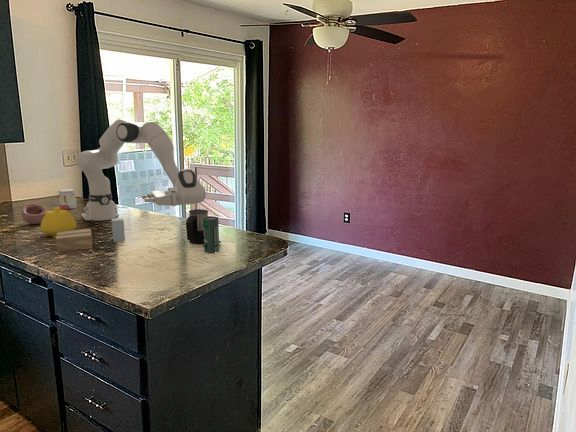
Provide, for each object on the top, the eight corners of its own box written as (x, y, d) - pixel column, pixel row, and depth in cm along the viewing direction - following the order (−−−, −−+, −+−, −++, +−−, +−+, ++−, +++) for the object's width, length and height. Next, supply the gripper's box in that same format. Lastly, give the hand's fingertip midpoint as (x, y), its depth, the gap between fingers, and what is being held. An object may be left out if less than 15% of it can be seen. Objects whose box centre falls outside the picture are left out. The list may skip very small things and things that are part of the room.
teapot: (32, 233, 216) (28, 206, 213) (64, 227, 228) (61, 202, 225) (50, 241, 204) (47, 212, 201) (83, 234, 216) (80, 207, 212)
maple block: (58, 244, 200) (57, 231, 199) (91, 240, 206) (90, 228, 205) (57, 252, 188) (55, 239, 187) (92, 248, 194) (91, 235, 192)
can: (208, 248, 194) (207, 216, 191) (221, 249, 193) (220, 217, 189) (202, 252, 189) (201, 219, 185) (215, 253, 187) (214, 220, 184)
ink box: (63, 209, 270) (61, 191, 268) (59, 208, 274) (57, 190, 271) (77, 208, 277) (75, 189, 274) (73, 206, 280) (72, 188, 277)
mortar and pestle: (28, 227, 227) (25, 206, 224) (18, 224, 234) (16, 203, 231) (52, 223, 236) (49, 202, 234) (42, 220, 243) (39, 200, 241)
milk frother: (192, 238, 210) (191, 208, 207) (224, 239, 210) (224, 209, 206) (184, 247, 196) (183, 215, 193) (219, 247, 196) (218, 215, 193)
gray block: (113, 238, 208) (111, 218, 206) (124, 237, 210) (122, 217, 208) (113, 241, 204) (112, 220, 202) (125, 240, 206) (123, 220, 204)
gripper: (168, 187, 222) (140, 188, 216) (176, 193, 204) (145, 195, 198) (169, 199, 223) (141, 201, 217) (176, 206, 205) (146, 208, 199)
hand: (143, 198), depth 208 cm, fingers open, 8 cm apart
